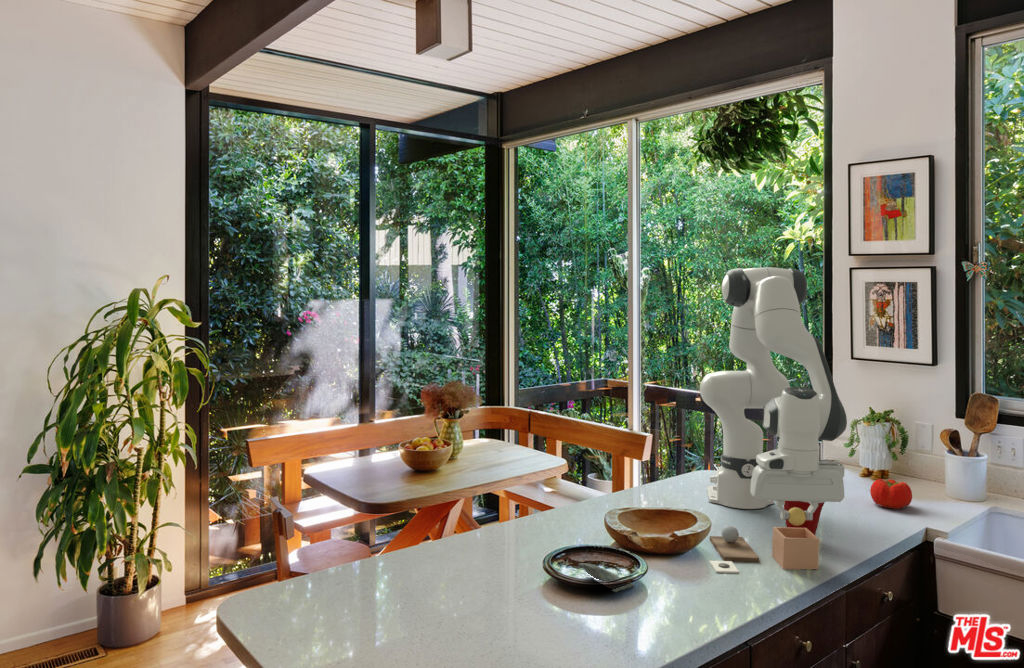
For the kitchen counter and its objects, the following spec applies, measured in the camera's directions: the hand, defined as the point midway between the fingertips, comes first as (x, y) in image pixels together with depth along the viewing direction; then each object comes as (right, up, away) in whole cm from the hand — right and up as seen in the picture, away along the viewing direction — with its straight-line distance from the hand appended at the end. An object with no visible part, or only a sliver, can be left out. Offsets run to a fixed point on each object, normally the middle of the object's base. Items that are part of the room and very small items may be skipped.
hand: (795, 519), depth 163 cm
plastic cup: (+8, -10, +15) cm, 20 cm away
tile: (-17, -10, -3) cm, 20 cm away
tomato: (+46, -8, +46) cm, 65 cm away
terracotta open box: (0, -10, +1) cm, 10 cm away
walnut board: (-12, -10, +8) cm, 17 cm away
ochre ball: (0, +1, 0) cm, 1 cm away
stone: (-44, -11, -12) cm, 47 cm away
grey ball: (-12, -6, +11) cm, 17 cm away
